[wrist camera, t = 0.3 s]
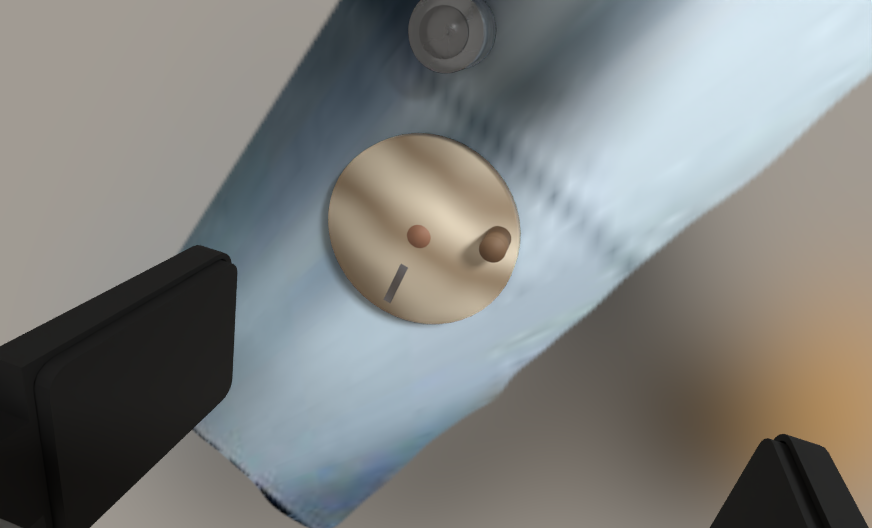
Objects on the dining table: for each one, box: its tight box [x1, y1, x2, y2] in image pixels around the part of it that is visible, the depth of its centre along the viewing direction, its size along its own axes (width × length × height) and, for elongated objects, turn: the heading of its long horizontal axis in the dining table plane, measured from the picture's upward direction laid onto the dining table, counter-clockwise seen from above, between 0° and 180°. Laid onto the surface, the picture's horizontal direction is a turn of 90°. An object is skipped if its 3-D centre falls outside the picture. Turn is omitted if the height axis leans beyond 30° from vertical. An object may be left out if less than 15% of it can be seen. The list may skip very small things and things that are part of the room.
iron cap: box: [408, 0, 496, 73], centre depth 38 cm, size 5×5×5 cm
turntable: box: [328, 133, 521, 324], centre depth 44 cm, size 16×16×4 cm
